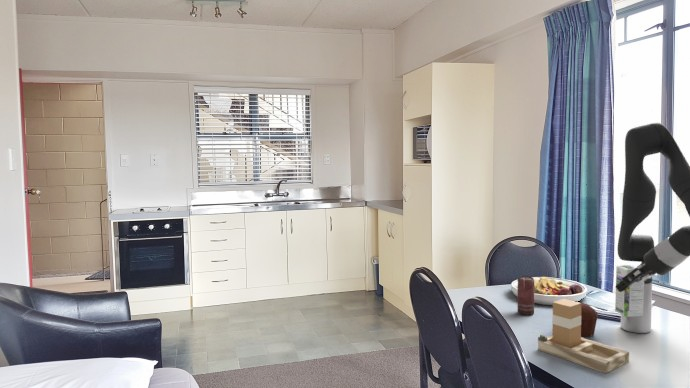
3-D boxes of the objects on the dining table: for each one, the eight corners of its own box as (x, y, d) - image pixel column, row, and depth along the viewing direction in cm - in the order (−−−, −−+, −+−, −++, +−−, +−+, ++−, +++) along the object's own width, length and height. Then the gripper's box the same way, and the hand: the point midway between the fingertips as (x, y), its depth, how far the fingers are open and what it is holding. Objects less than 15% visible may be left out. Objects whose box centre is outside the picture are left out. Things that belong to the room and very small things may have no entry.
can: (517, 315, 200) (517, 279, 199) (518, 310, 206) (518, 275, 205) (533, 316, 198) (534, 280, 197) (534, 311, 204) (534, 276, 202)
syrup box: (614, 311, 162) (614, 265, 160) (632, 310, 162) (633, 264, 161) (625, 317, 156) (626, 269, 154) (644, 316, 156) (645, 268, 155)
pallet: (561, 340, 174) (561, 326, 174) (628, 361, 156) (629, 346, 155) (537, 349, 167) (537, 335, 166) (605, 373, 149) (605, 357, 148)
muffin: (603, 332, 180) (604, 304, 179) (590, 341, 172) (591, 311, 172) (568, 324, 189) (569, 297, 188) (555, 332, 181) (555, 304, 180)
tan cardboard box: (563, 343, 170) (563, 298, 168) (580, 349, 165) (581, 303, 163) (552, 348, 166) (552, 302, 165) (569, 354, 161) (570, 306, 160)
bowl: (497, 297, 224) (497, 279, 224) (532, 284, 244) (532, 267, 244) (566, 313, 202) (566, 293, 201) (598, 296, 222) (599, 278, 221)
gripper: (668, 241, 155) (628, 272, 165) (644, 248, 147) (603, 280, 157) (687, 262, 151) (645, 292, 161) (664, 270, 143) (621, 301, 153)
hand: (625, 286), depth 159 cm, fingers closed on syrup box, 7 cm apart
